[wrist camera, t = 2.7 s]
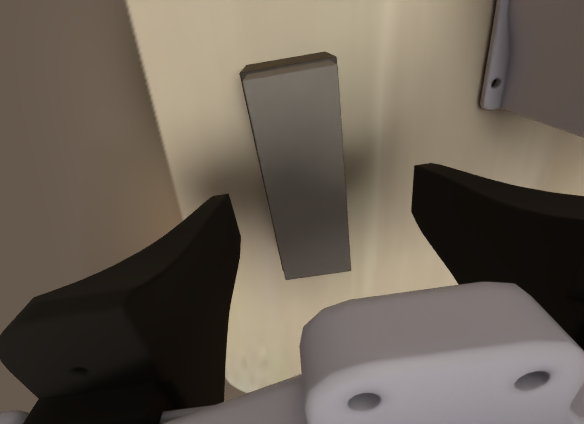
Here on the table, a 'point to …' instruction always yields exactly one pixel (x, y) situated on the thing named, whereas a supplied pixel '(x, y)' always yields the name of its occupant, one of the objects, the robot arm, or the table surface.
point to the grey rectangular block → (301, 160)
